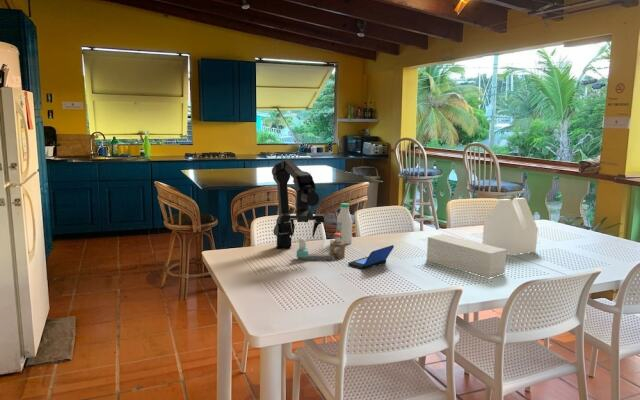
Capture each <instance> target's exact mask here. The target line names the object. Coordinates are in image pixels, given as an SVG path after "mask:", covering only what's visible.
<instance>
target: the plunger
mask: <svg viewBox="0 0 640 400" xmlns="http://www.w3.org/2000/svg"><path fill="white" fill-rule="evenodd" d="M340 236H341V233H336V232H335V233H333V237H334V240H335V243H340Z"/></svg>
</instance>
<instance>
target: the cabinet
mask: <svg viewBox="0 0 640 400" xmlns="http://www.w3.org/2000/svg"><path fill="white" fill-rule="evenodd" d="M345 247H346V244H344V241H343V240H340V243H335V239H330V247H329V254H334V259H335V258H336V259H337V258H339V259H340V258H341V259H342V258H345V253H346V252H345Z"/></svg>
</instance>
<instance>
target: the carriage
mask: <svg viewBox="0 0 640 400" xmlns="http://www.w3.org/2000/svg"><path fill="white" fill-rule="evenodd" d="M298 239H299V240H298V247H297V248H296V258H298V257H308V254H309V248H308V247H307V246H306V245H307V244H306V240H307V239H306V238H305V237H300V238H298ZM306 247H307V248H306Z"/></svg>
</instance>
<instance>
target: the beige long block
mask: <svg viewBox="0 0 640 400" xmlns="http://www.w3.org/2000/svg"><path fill="white" fill-rule="evenodd" d="M426 246H427V248H426V249H427V250H426V261H428V262H432V263H435V264H439V265H441V264H442V266H444V265H445V267H448V266H449V267H448V268H451V267H452V269H454V268H457V269H460V270H459V271H461V270H463V271H462V272H464V271H467V272H471V273H474V274H477V275H480V276H484V277H487V278H490V277H494V276H497V275H500V274H503V273H504V274H505V271H506V270H505V269H506V261H507V260H506V259H507V254H506V249H502V248H498V247H494V246H490V245H486V244H482V243H481V242H477V241H474V240H469V239H464V238H461V237H457V236H453V235H448V234H445V233H444V234H443V233H442V234H438V235H431V236H427V245H426ZM457 269H456V270H457ZM467 272H466V273H467ZM474 274H473V275H474ZM477 275H476V276H477ZM480 276H479V277H480ZM487 278H486V279H487ZM494 278H495V277H494Z"/></svg>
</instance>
